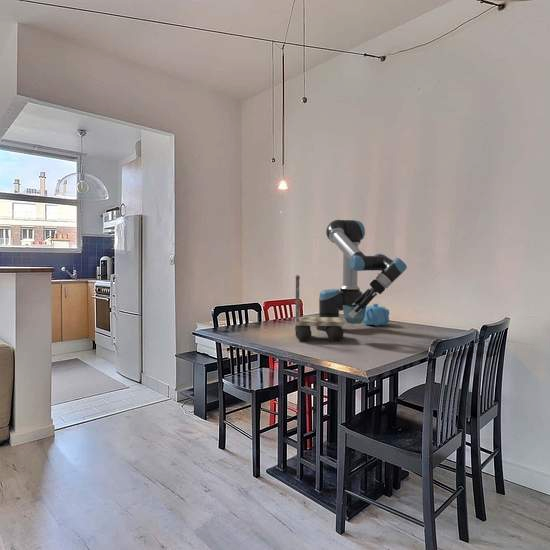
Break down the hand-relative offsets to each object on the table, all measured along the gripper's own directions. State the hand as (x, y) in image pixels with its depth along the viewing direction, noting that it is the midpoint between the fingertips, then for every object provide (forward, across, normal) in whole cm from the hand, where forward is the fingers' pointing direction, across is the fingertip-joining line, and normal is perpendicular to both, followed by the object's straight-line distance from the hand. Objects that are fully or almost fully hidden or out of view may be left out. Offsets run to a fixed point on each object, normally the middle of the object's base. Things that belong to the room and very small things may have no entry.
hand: (348, 314), depth 201 cm
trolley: (+20, -7, -1) cm, 21 cm away
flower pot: (+1, 0, +5) cm, 5 cm away
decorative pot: (-8, -52, +27) cm, 59 cm away
